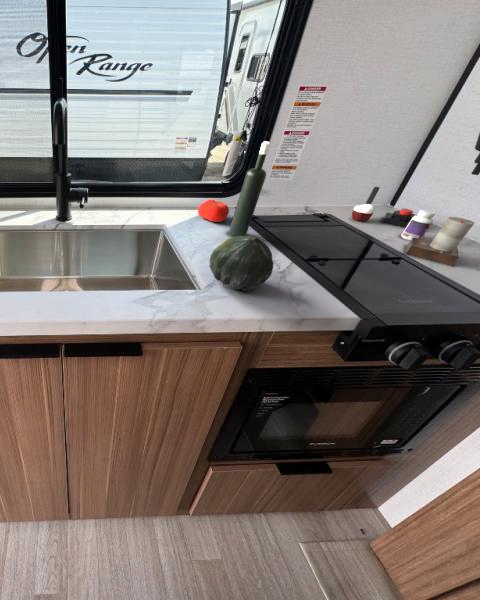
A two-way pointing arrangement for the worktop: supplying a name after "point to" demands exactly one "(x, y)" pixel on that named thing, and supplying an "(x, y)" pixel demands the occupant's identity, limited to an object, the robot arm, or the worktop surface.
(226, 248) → the squash
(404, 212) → the button
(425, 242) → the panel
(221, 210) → the tomato
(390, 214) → the button box
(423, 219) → the pill bottle
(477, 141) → the robot arm
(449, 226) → the beige waisted cup
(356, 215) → the cocoa
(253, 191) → the wine bottle
